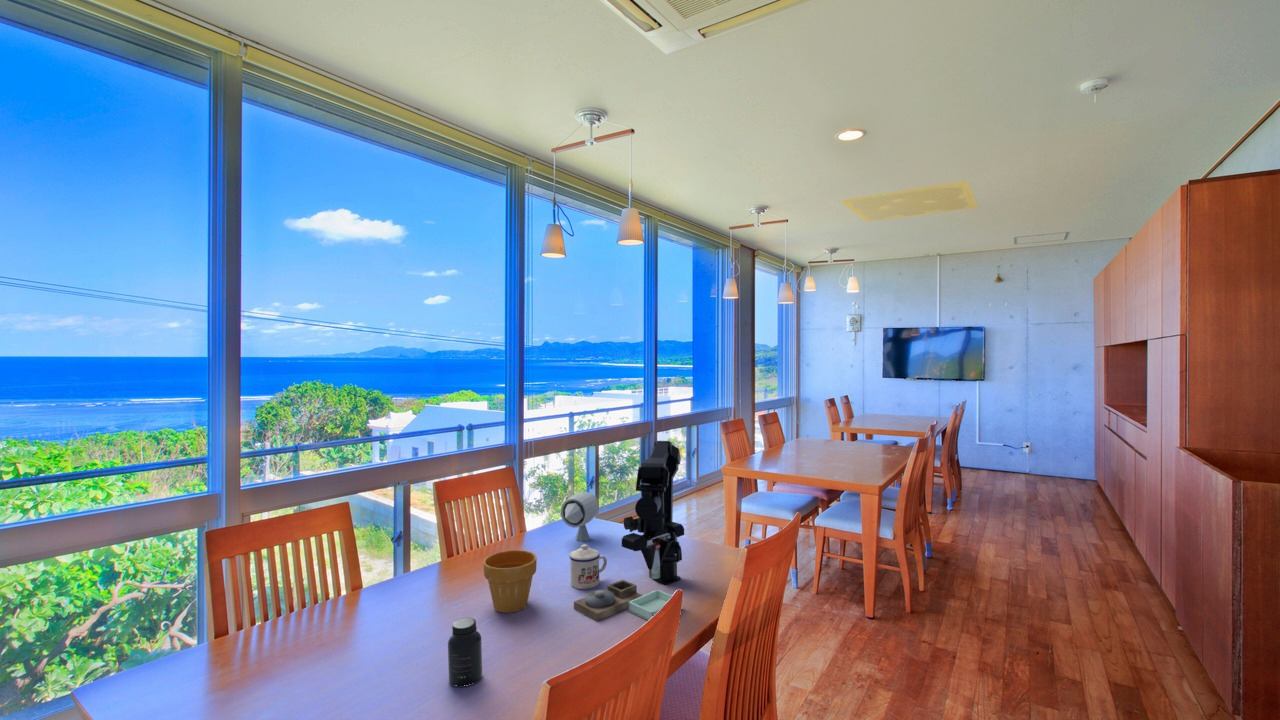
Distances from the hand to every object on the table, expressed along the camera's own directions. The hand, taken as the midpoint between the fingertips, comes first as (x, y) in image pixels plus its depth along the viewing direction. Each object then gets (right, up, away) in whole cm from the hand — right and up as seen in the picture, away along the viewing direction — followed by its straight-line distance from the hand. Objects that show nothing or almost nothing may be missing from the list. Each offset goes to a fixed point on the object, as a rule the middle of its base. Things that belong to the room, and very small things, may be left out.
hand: (654, 567), depth 148 cm
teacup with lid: (-19, -12, +19) cm, 29 cm away
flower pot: (-39, -12, +4) cm, 41 cm away
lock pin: (0, -3, 0) cm, 2 cm away
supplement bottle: (-41, -12, -31) cm, 53 cm away
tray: (0, -11, 0) cm, 11 cm away
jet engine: (-27, -12, +57) cm, 64 cm away
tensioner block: (-12, -12, +3) cm, 17 cm away
